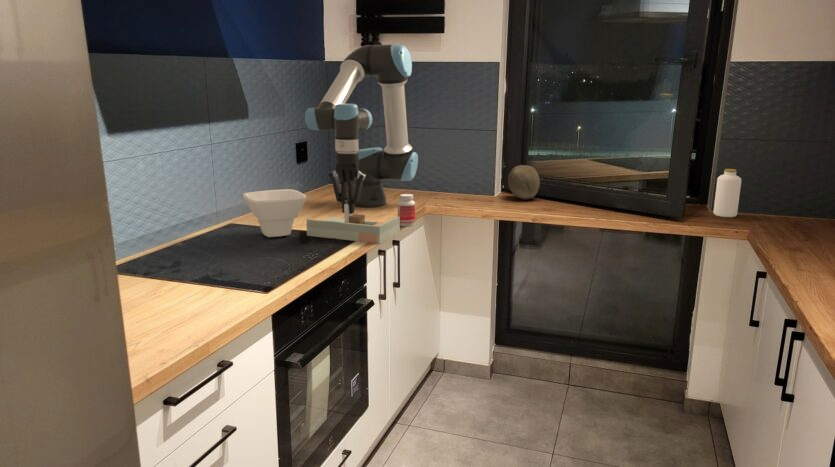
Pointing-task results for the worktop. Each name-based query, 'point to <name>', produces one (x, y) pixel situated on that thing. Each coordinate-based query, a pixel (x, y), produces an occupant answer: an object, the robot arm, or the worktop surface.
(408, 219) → the pill bottle
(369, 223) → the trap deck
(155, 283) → the worktop surface
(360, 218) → the walnut block
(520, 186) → the cantaloupe
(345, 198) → the robot arm
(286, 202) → the bowl
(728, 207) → the potion bottle
